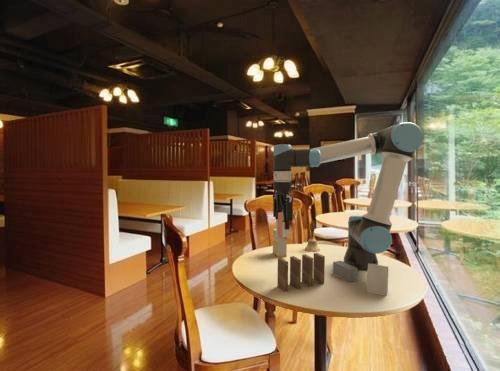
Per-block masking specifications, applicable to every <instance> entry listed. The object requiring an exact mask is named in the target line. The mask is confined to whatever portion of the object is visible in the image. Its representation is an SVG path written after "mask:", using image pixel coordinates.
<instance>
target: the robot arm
mask: <svg viewBox="0 0 500 371" xmlns="http://www.w3.org/2000/svg"><path fill="white" fill-rule="evenodd" d="M423 142H424V133H423V130H422V129H421V127H420V126H419V125H417V124H415V123H413V122H408V121H406V122H399V123H397V124H395V125H391V126H389V127H386V128H384V129H382V130H378V131H376V132H373V133H372V132H371V133H369V134H368V135H367V136H366V137H359V138H354V139H351V140H346V141H342V142H341V141H340V142H337V143H332V144H328V145H324V146H323V145H322V146H319V147H314V148H304V149H301V148H300V149H296V148H295V149H293V148H292V145H291V144H276V145H274V146H273V162H272V163H273V174H272V176H273V190H274V191H275V194H272V203H273V205H272V209H273V210H272V212H273V215H272V216H273V217H274V219H276V222H275V223H276V224H275V229H276V234H278V212H283V218H284V221H282V222H283V237H287V238H288V237H289V238H290V222H293V220H294V219H293V218H294V217H293V215H294V214H293V213H294V212H293V210H294V209H293V205H294V204H293V202H294V197H293V196H290V193H289V192H290V191H292V182H291V181H292V168H314V167H315V168H319V166H320V165H321V164H323V163H324V164H325V163H329V162H335V161H338V160H343V159H349V158H353V157H354V158H355V157H357V156H359V157H360V156H364V155H369V154H371V156H373V155H379V154H381V155H382V157H383V160H382V163H381V167H380V170H379V173H378V176H377V181H376V184H375V187H374V191H373V193H372V197H371V199H370V200H371V201H370V204H369V207H368V210H367V213H364V214H363V215H350V216H349V217H348V221H347V223H348V229H347V248H346V250H345V254H344V256H343V262H345V263H347V264H349V265H352V266H354V267H356V268H358V270H365V271H367V270H368V263H369V264H375V265H379V260H378V256H377V254H381V253H384V252H386V251H387V250H388V249H389V248H390V247H391V245H392V242H393V237H392V234H391V228H392V226H393V223H392V221H391V219H390V218H391V214H392V211H393V208H394V205H395V202H396V200H397V199H396V198H397V195H398V192H399V190H400V185H401V182H402V179H403V176H404V172H405V169H406V166H407V163H408V162H410V161H412V160H413V158H414V154H415V152H416V151H417V150H418V149H419V148H420V147H421V146H422V144H423Z"/></svg>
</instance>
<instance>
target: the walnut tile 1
mask: <svg viewBox="0 0 500 371" xmlns="http://www.w3.org/2000/svg"><path fill="white" fill-rule="evenodd" d="M277 288H279V289H280V290H281V291H282V292H283V293H285V292H289V261H288V260H286V259H284V257H277Z"/></svg>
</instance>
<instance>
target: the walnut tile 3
mask: <svg viewBox="0 0 500 371" xmlns="http://www.w3.org/2000/svg"><path fill="white" fill-rule="evenodd" d="M313 261H314V257H312V256H309V255H308V254H302V255H301V283H302V284H305V285H306V286H307V287H309V288H310V287H313V281H314V280H313Z"/></svg>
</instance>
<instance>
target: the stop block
mask: <svg viewBox="0 0 500 371" xmlns="http://www.w3.org/2000/svg"><path fill="white" fill-rule="evenodd" d="M358 273H359V269H358V268H356V267H354V266H352V265H349V264H347V263H345V262H344V261H342V260H336V261H333V262H332V274H334V275H335V276H337V277H339V278H341V279H343V280H345V281H347V282H349V283H350V282H355V281H358Z"/></svg>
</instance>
